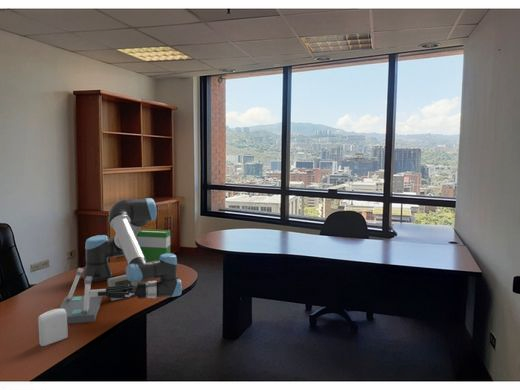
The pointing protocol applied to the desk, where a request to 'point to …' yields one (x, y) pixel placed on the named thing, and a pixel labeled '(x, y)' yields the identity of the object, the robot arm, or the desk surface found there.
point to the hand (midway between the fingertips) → (90, 293)
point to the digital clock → (119, 283)
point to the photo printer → (52, 326)
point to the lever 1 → (74, 283)
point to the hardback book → (154, 243)
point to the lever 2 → (87, 293)
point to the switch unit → (81, 309)
